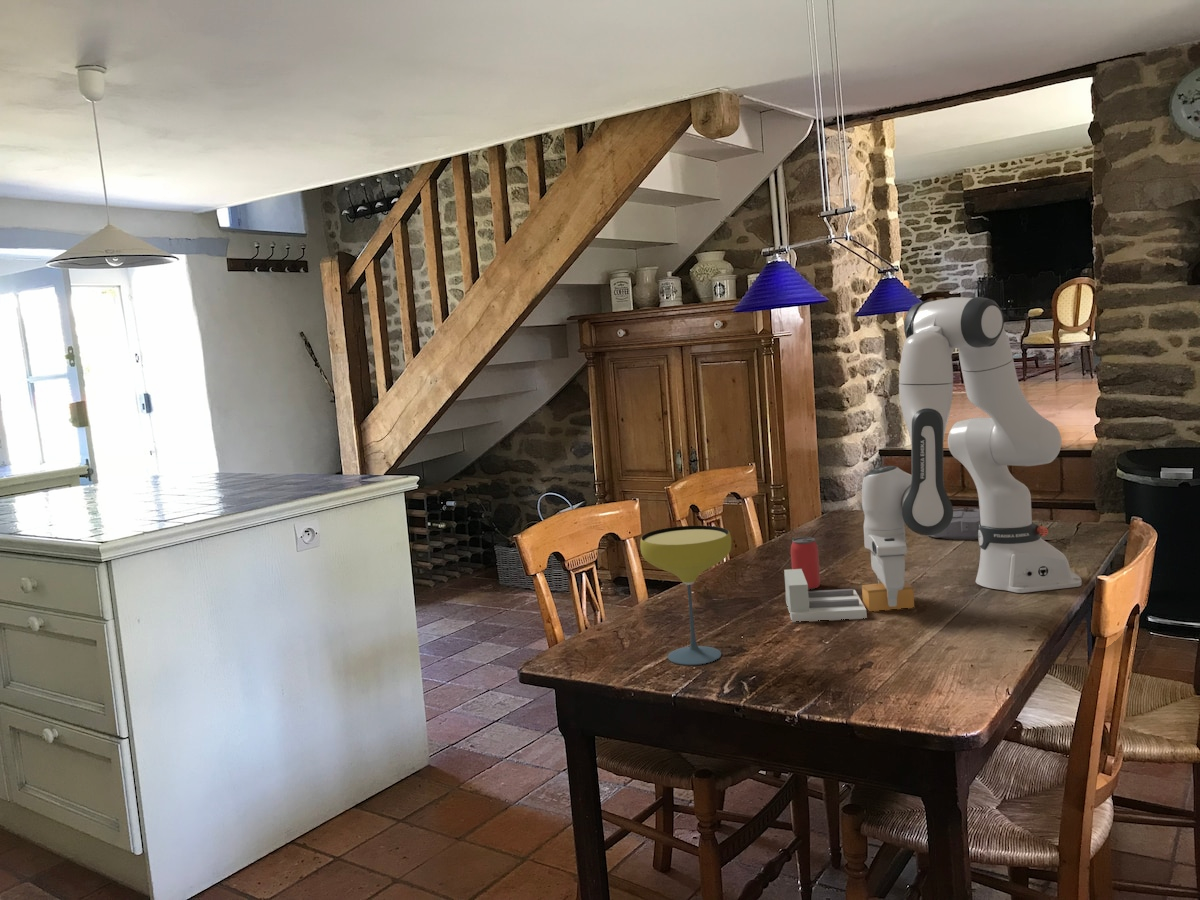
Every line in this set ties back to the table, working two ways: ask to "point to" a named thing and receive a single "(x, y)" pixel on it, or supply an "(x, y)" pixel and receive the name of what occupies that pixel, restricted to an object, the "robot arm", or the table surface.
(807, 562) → the beer can
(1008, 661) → the table surface
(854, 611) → the white l-shaped stand
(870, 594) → the cardboard box
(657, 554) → the cocktail glass
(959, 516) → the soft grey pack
